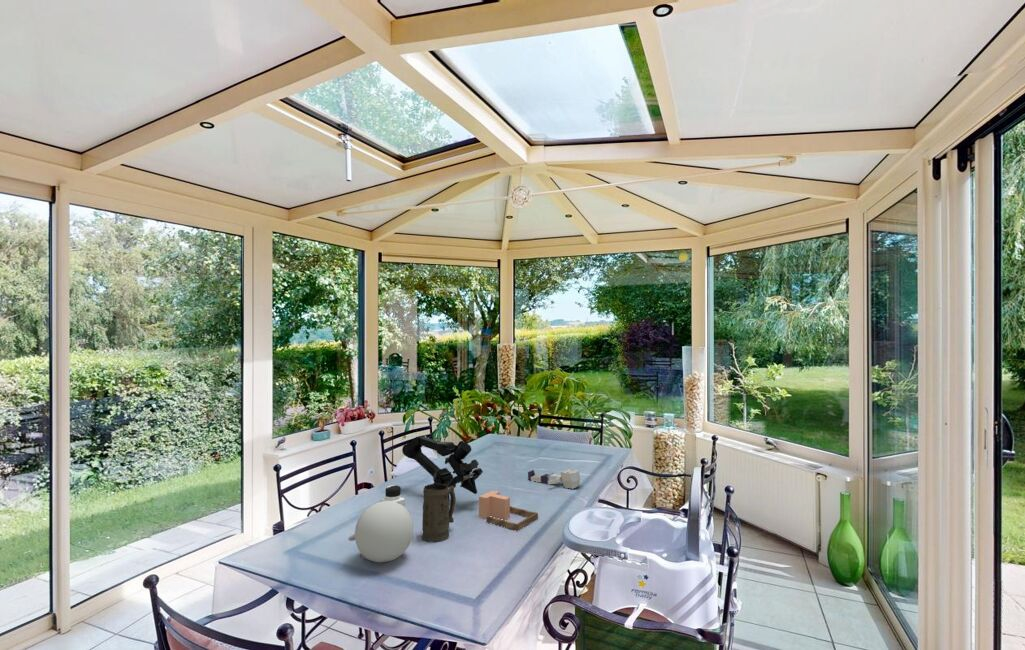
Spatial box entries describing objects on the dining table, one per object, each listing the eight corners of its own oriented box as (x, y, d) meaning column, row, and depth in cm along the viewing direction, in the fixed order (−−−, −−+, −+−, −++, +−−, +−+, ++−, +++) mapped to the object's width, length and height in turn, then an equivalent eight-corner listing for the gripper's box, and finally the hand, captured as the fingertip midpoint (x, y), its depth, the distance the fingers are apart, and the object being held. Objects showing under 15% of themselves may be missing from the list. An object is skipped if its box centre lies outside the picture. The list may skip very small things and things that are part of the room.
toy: (538, 465, 268) (585, 466, 251) (540, 481, 267) (587, 483, 250) (519, 473, 251) (568, 475, 234) (521, 490, 250) (570, 493, 233)
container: (405, 516, 204) (405, 486, 205) (389, 521, 199) (390, 490, 199) (395, 511, 209) (395, 482, 210) (380, 516, 204) (380, 486, 204)
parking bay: (486, 522, 197) (486, 516, 197) (507, 511, 210) (507, 505, 210) (517, 531, 188) (517, 525, 188) (537, 518, 201) (537, 513, 201)
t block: (478, 517, 203) (478, 496, 204) (492, 510, 212) (492, 490, 212) (500, 523, 197) (500, 501, 197) (514, 515, 205) (514, 495, 205)
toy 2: (390, 542, 177) (391, 490, 178) (423, 557, 165) (424, 501, 166) (344, 561, 162) (344, 504, 163) (376, 579, 150) (377, 517, 151)
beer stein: (435, 545, 175) (438, 491, 177) (414, 538, 181) (417, 486, 182) (460, 533, 188) (463, 483, 190) (440, 528, 194) (443, 479, 195)
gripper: (453, 459, 207) (473, 488, 200) (479, 450, 222) (498, 477, 215) (440, 474, 211) (459, 503, 204) (467, 465, 226) (485, 491, 220)
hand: (476, 493), depth 211 cm, fingers closed
